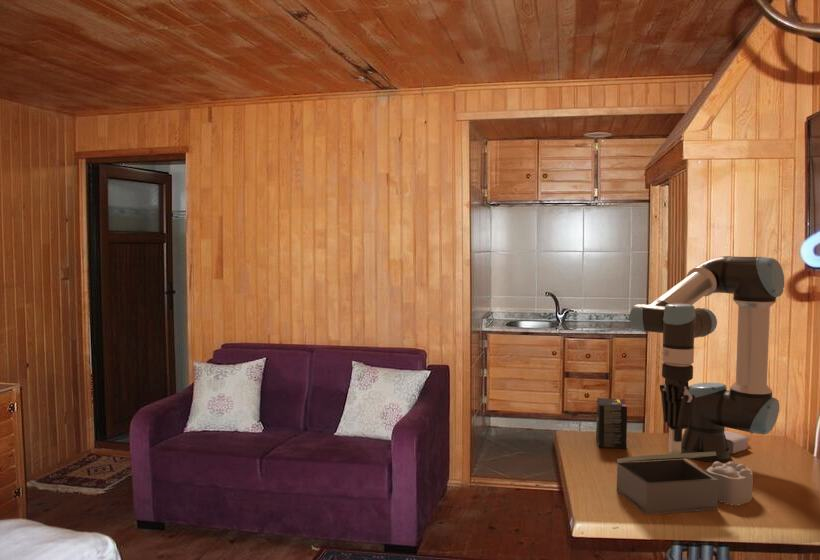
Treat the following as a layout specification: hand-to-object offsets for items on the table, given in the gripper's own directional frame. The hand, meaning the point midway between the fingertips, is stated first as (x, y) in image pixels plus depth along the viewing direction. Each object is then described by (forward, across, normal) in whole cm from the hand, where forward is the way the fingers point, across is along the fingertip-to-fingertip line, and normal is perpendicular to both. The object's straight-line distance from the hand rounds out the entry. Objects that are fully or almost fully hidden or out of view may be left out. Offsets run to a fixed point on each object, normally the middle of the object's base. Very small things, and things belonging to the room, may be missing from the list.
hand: (674, 452), depth 176 cm
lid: (+3, -5, 0) cm, 6 cm away
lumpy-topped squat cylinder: (+15, -4, +20) cm, 25 cm away
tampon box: (+15, -52, +8) cm, 54 cm away
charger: (+15, -42, +47) cm, 65 cm away
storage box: (+14, -4, 0) cm, 15 cm away
